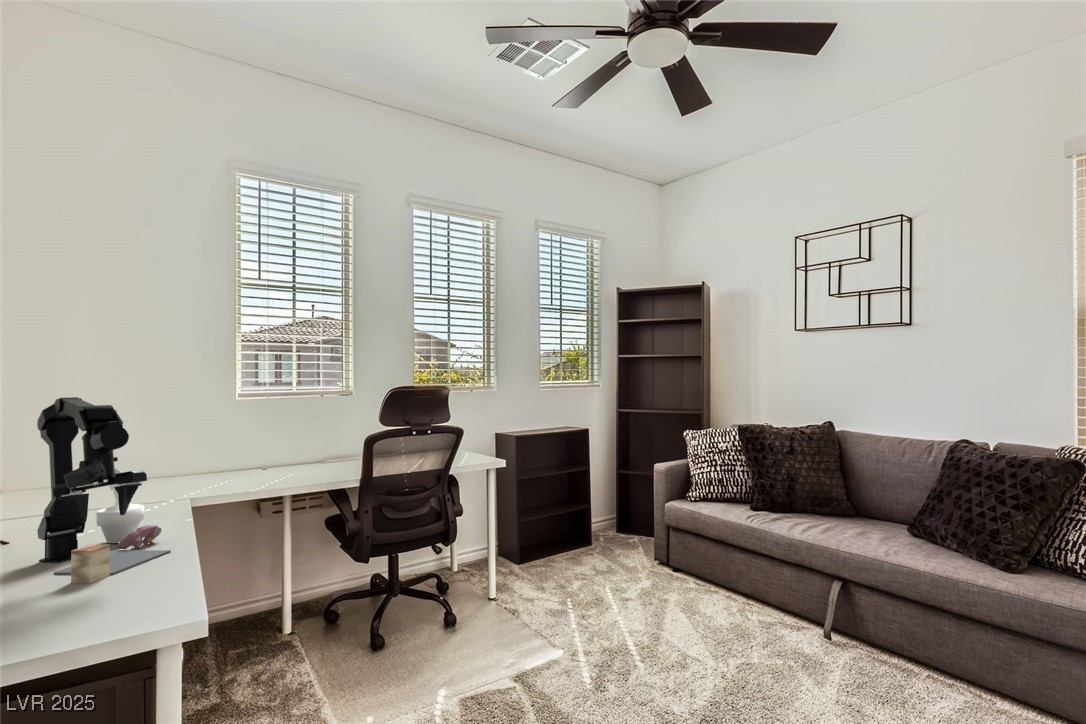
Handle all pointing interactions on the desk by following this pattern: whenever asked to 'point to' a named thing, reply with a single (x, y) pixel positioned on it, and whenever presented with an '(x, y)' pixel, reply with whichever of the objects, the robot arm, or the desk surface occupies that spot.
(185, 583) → the desk surface
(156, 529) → the video game controller
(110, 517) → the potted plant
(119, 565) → the rubber mat
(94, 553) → the tall block
